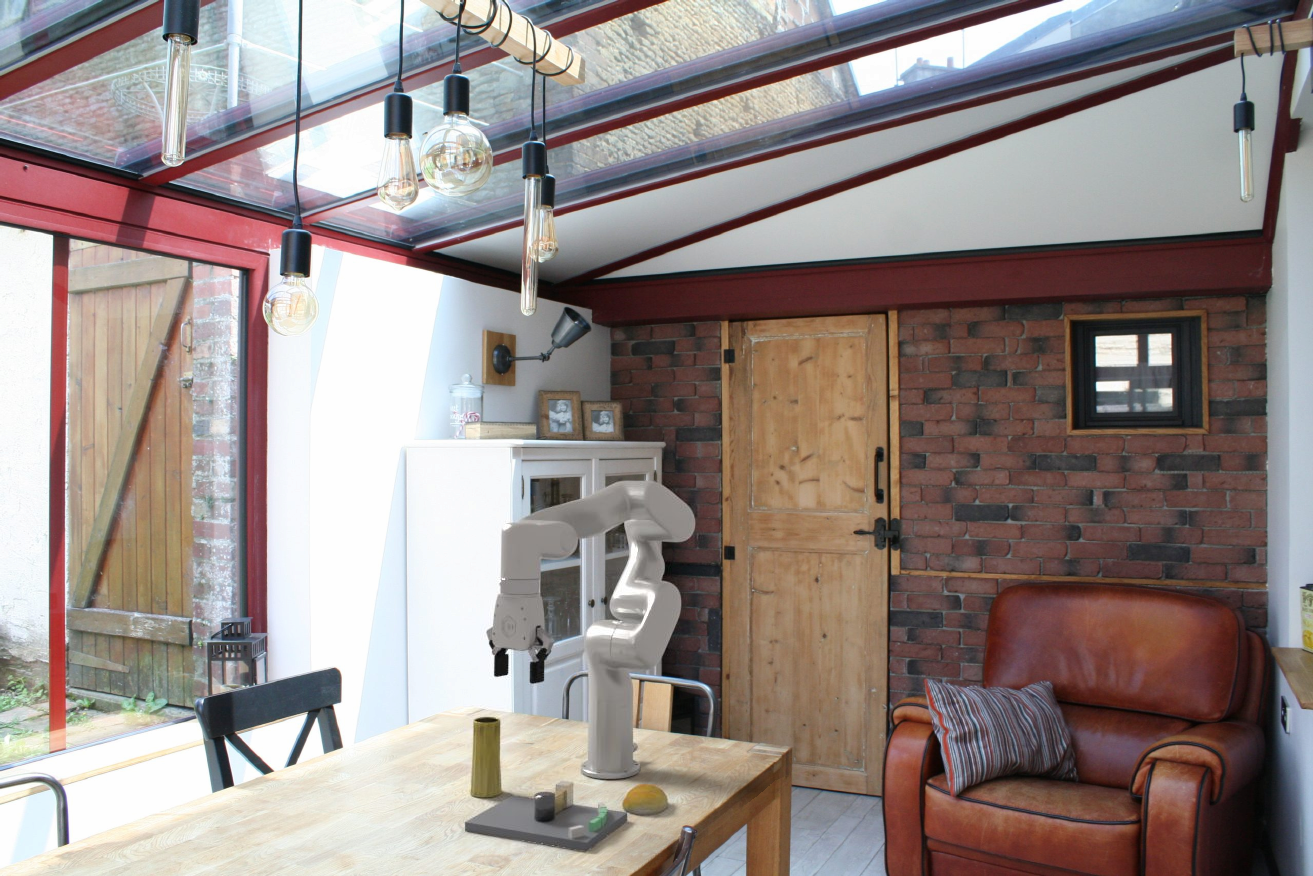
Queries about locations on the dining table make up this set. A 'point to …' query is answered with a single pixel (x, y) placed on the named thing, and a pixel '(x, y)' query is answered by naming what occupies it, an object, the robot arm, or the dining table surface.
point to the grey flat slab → (548, 823)
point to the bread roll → (645, 800)
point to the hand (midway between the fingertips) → (518, 679)
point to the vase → (486, 758)
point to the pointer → (553, 801)
